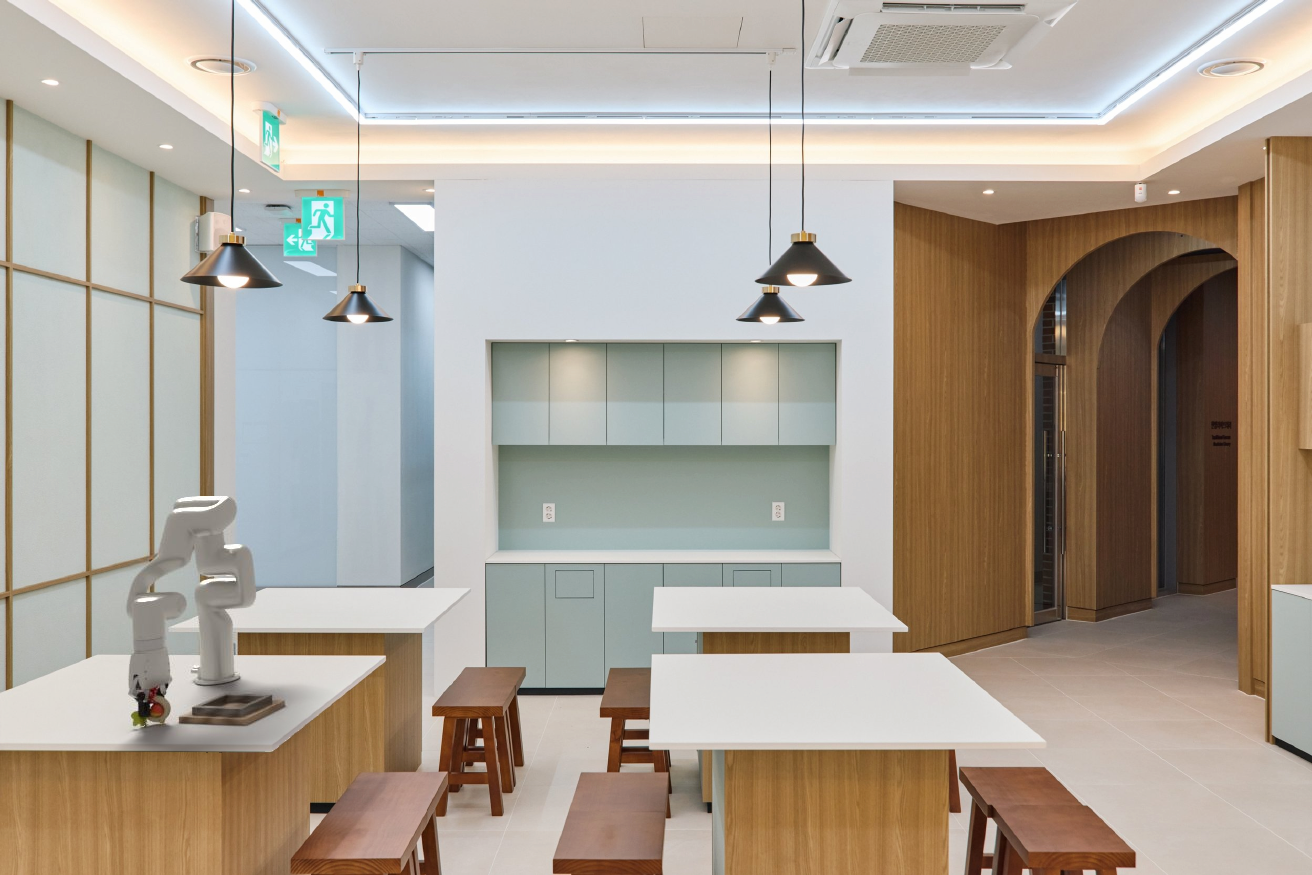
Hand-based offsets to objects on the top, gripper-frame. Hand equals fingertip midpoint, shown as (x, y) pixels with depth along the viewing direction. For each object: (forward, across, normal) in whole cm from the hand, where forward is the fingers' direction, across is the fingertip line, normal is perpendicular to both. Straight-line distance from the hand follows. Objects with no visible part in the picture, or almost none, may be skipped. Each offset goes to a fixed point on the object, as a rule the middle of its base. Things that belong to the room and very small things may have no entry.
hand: (151, 712), depth 238 cm
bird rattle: (+3, 0, 0) cm, 3 cm away
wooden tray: (+3, -11, +16) cm, 20 cm away
